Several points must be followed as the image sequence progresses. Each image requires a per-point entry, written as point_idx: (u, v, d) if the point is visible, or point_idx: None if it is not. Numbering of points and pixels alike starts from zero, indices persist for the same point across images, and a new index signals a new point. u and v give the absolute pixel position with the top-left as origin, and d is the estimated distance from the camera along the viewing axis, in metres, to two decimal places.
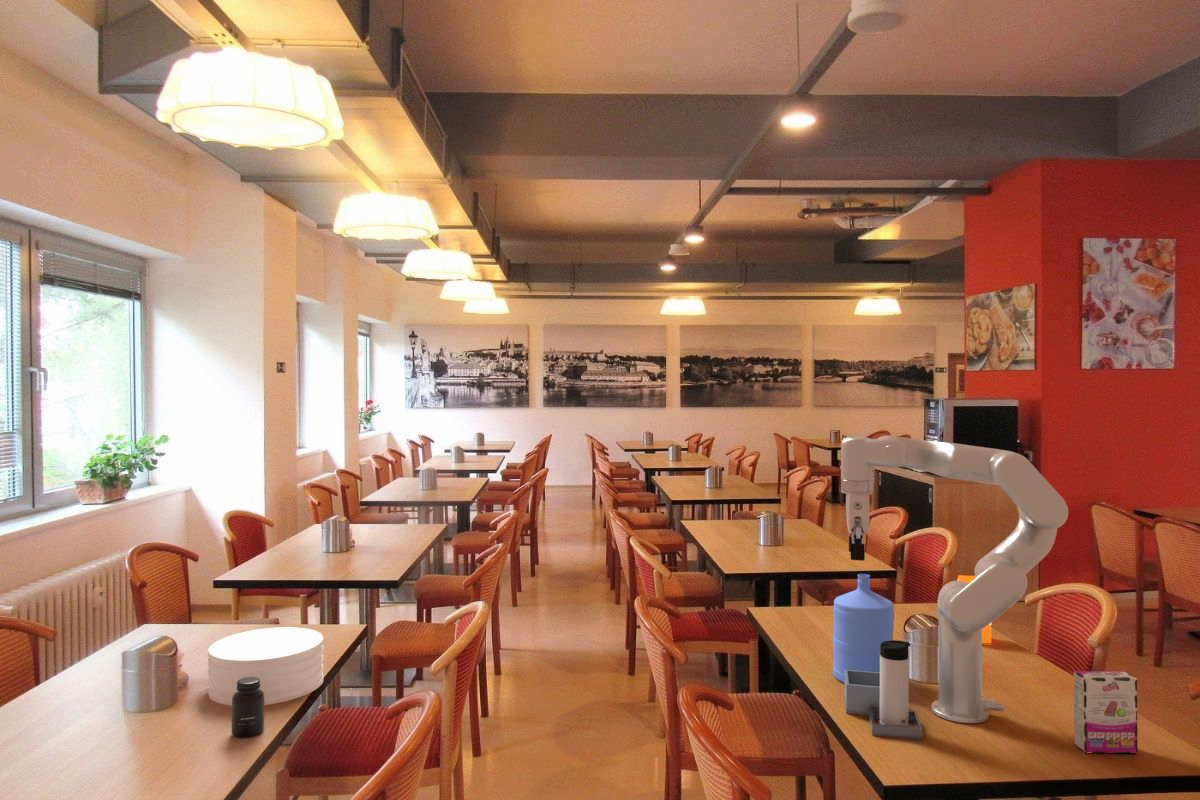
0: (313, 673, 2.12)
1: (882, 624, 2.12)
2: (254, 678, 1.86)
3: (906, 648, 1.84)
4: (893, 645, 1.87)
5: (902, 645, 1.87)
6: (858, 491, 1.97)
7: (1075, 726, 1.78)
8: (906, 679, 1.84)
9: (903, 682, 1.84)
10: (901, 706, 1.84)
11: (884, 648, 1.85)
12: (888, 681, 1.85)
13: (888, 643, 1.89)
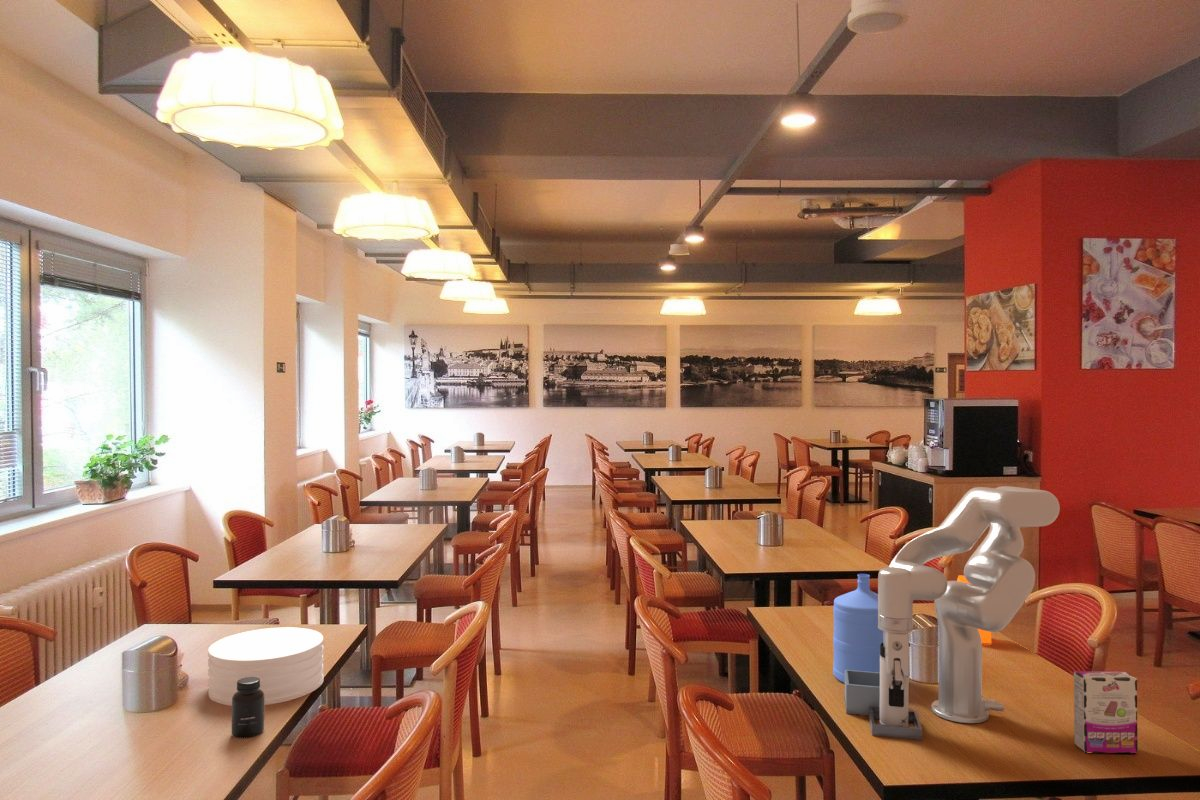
0: (313, 673, 2.12)
1: None
2: (254, 678, 1.86)
3: None
4: None
5: None
6: (897, 630, 1.83)
7: (1075, 726, 1.78)
8: (906, 679, 1.84)
9: (903, 682, 1.84)
10: None
11: (884, 648, 1.85)
12: (888, 681, 1.85)
13: None
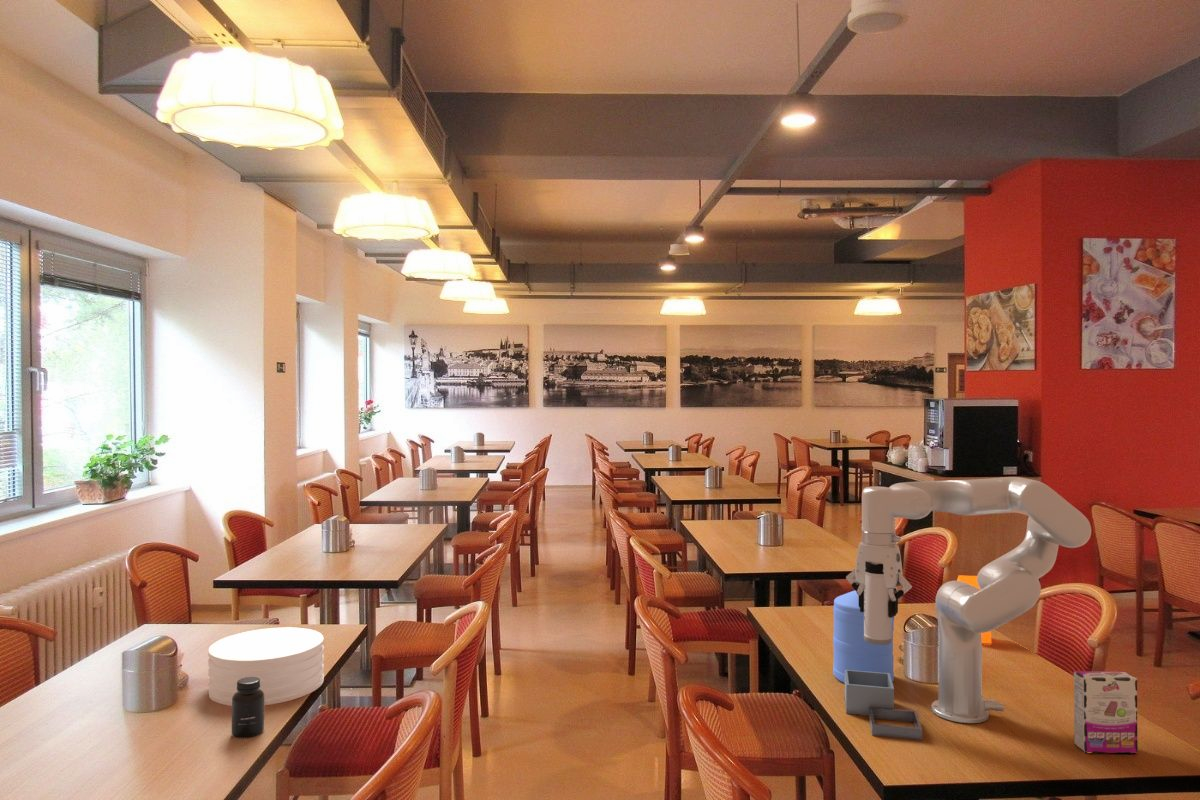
0: (313, 673, 2.11)
1: None
2: (254, 678, 1.86)
3: None
4: None
5: None
6: (894, 543, 1.92)
7: (1075, 726, 1.78)
8: None
9: None
10: None
11: (882, 564, 1.91)
12: (886, 595, 1.91)
13: None
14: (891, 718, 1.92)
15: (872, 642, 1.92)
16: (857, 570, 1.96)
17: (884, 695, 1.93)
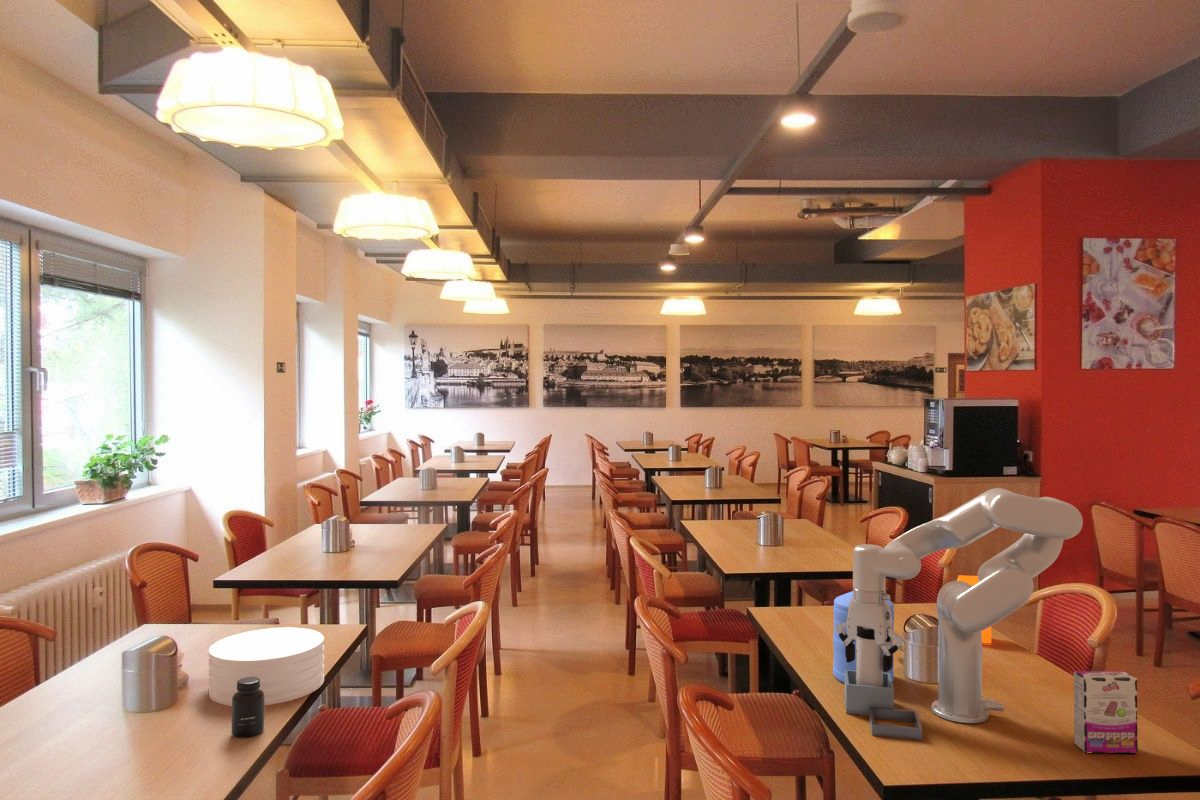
0: (314, 673, 2.11)
1: None
2: (254, 678, 1.86)
3: None
4: None
5: None
6: (884, 601, 1.97)
7: (1075, 726, 1.78)
8: None
9: None
10: (882, 679, 1.98)
11: (872, 630, 1.96)
12: (877, 659, 1.96)
13: None
14: (891, 718, 1.92)
15: None
16: (848, 626, 2.01)
17: (884, 695, 1.93)
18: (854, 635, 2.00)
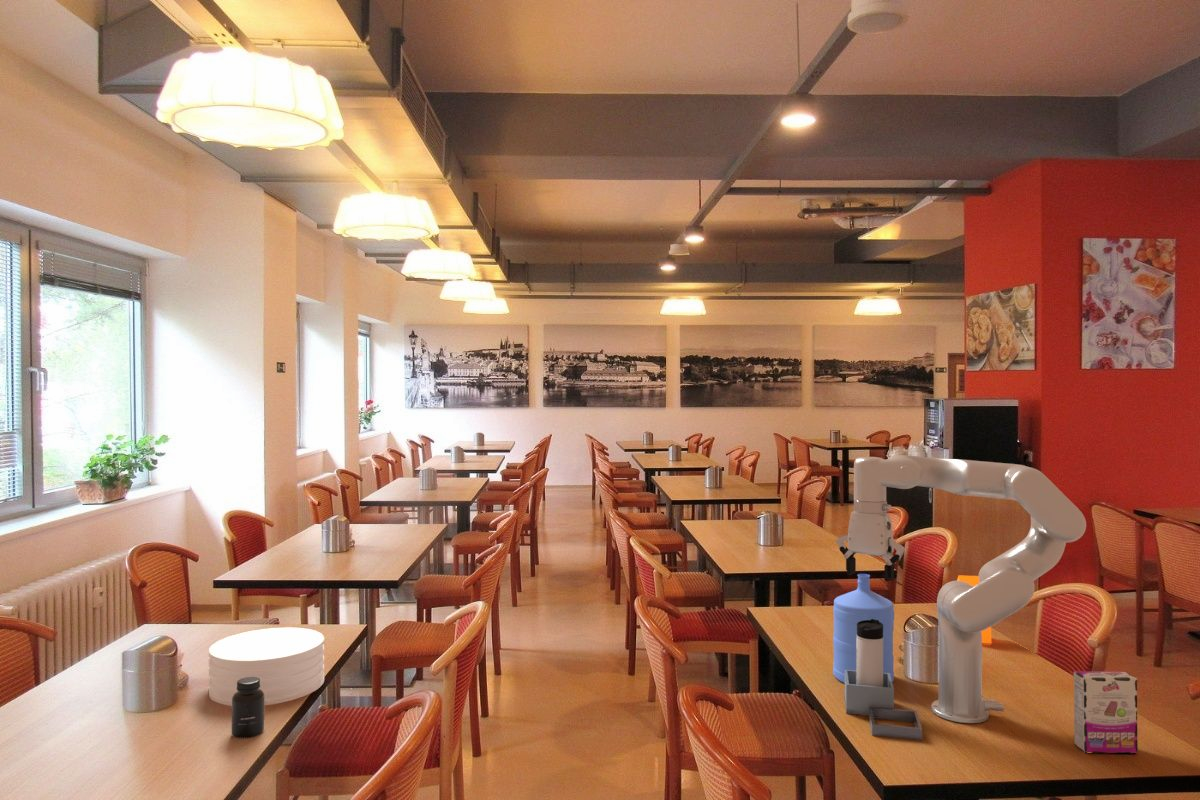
0: (314, 673, 2.11)
1: None
2: (254, 678, 1.86)
3: None
4: (869, 626, 1.99)
5: (871, 623, 2.00)
6: (885, 511, 1.96)
7: (1075, 726, 1.78)
8: None
9: None
10: None
11: (873, 630, 1.96)
12: (877, 659, 1.96)
13: (861, 625, 1.99)
14: (891, 718, 1.92)
15: None
16: (849, 538, 2.00)
17: (884, 695, 1.93)
18: (855, 547, 1.99)
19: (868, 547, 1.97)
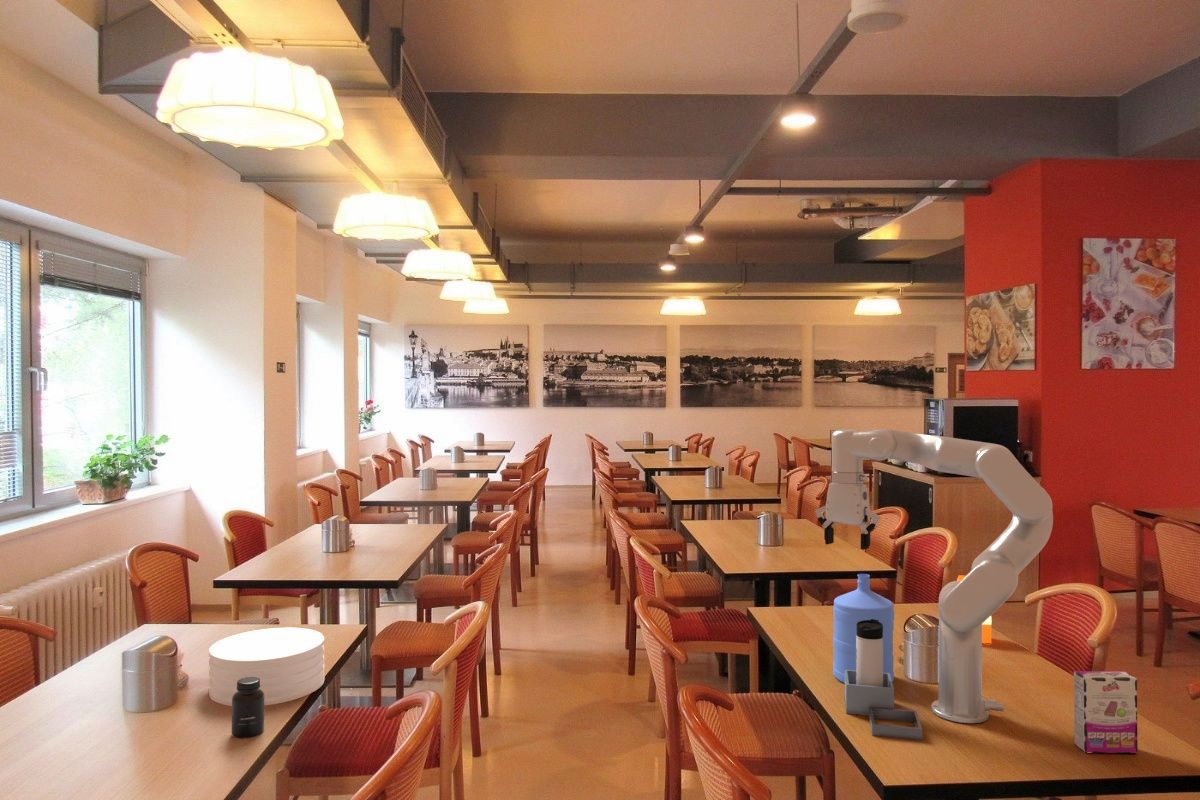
0: (314, 673, 2.11)
1: None
2: (254, 678, 1.86)
3: None
4: (869, 626, 1.99)
5: (871, 623, 2.00)
6: (861, 482, 2.03)
7: (1075, 726, 1.78)
8: None
9: None
10: (882, 679, 1.98)
11: (872, 630, 1.96)
12: (877, 659, 1.96)
13: (861, 625, 1.99)
14: (891, 718, 1.92)
15: None
16: (827, 508, 2.07)
17: (884, 695, 1.93)
18: (833, 517, 2.06)
19: (845, 516, 2.03)
